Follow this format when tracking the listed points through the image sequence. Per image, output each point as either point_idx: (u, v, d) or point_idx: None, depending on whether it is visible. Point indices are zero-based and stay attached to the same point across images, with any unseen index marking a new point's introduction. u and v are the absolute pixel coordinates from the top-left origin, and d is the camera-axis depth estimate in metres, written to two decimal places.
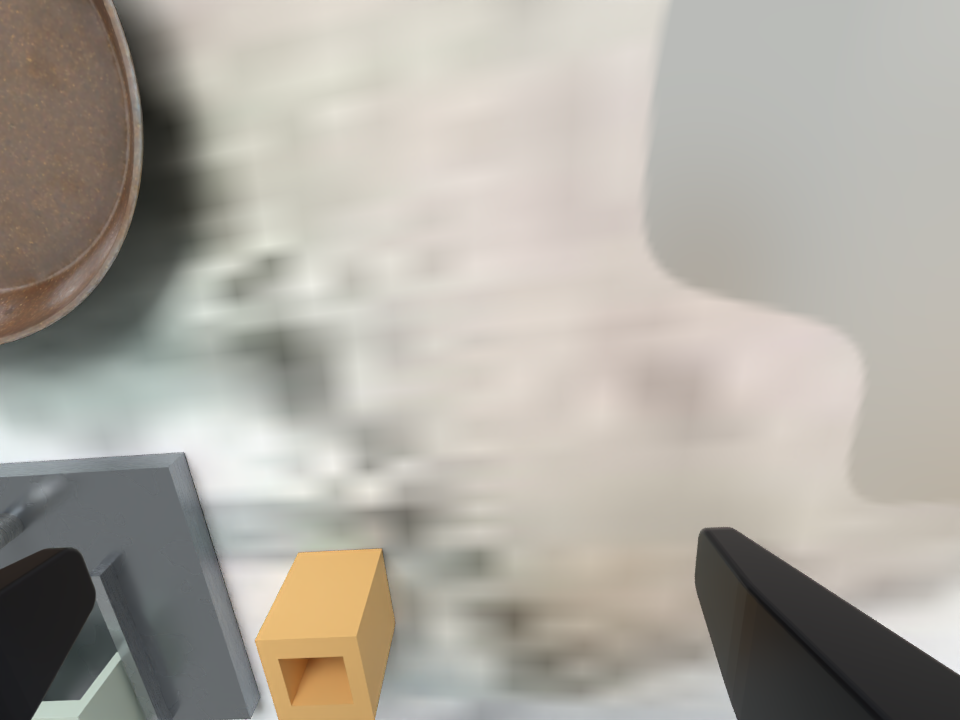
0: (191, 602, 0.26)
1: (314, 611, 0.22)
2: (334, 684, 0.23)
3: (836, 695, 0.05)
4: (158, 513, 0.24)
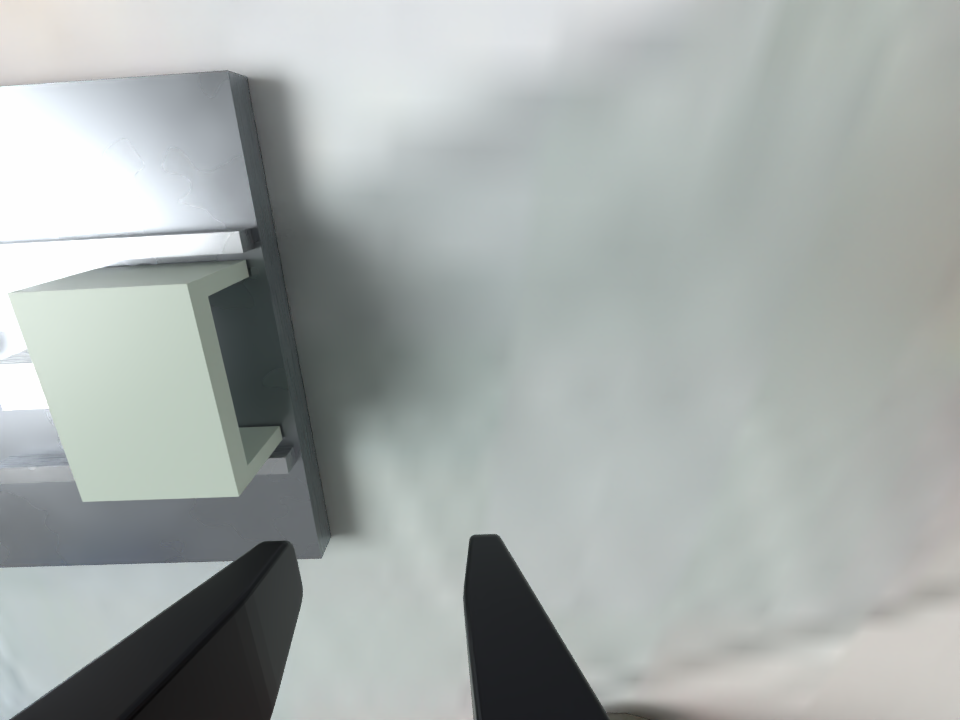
0: None
1: None
2: None
3: (473, 701, 0.05)
4: None
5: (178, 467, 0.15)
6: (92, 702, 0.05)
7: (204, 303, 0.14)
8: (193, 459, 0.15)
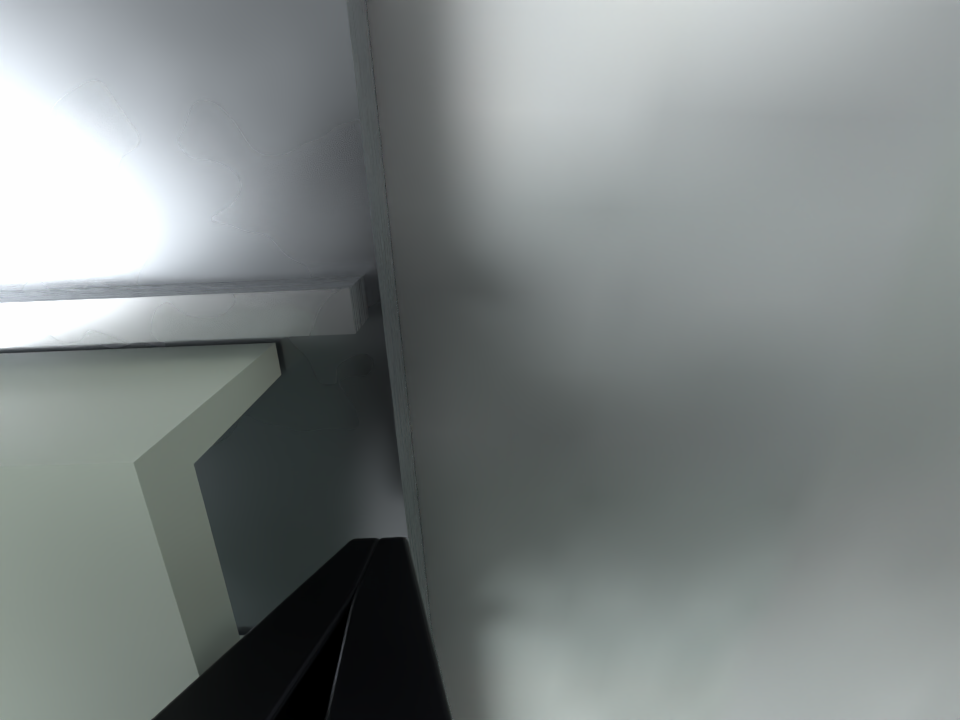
0: None
1: None
2: None
3: None
4: None
5: None
6: (234, 700, 0.05)
7: (184, 488, 0.06)
8: None
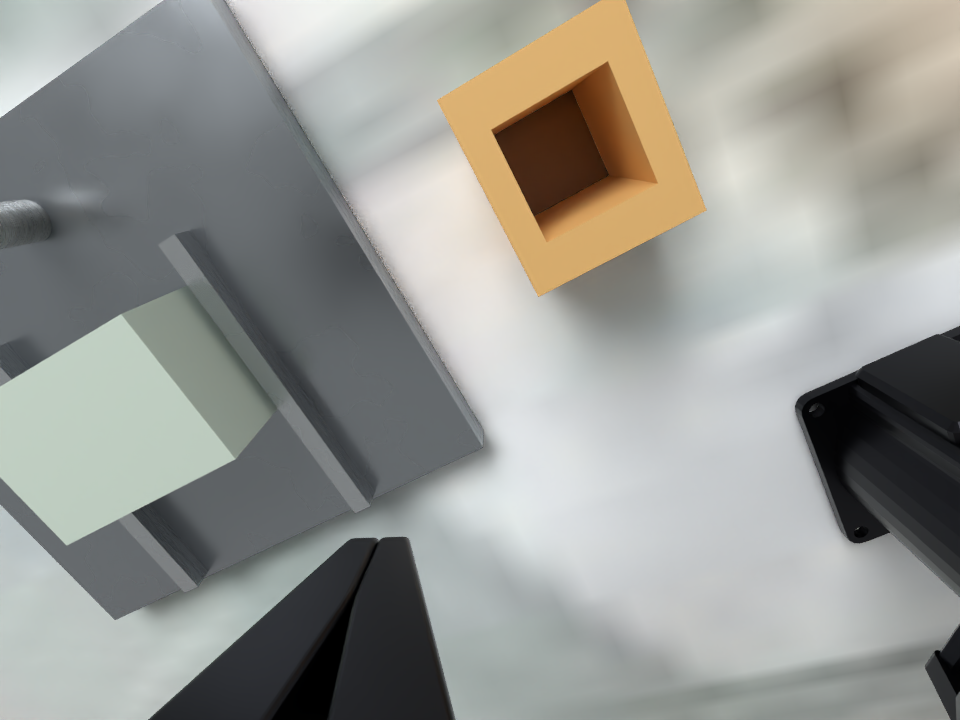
0: (326, 254, 0.16)
1: None
2: (603, 204, 0.13)
3: None
4: (217, 89, 0.14)
5: (55, 492, 0.15)
6: (231, 700, 0.05)
7: None
8: (74, 502, 0.15)
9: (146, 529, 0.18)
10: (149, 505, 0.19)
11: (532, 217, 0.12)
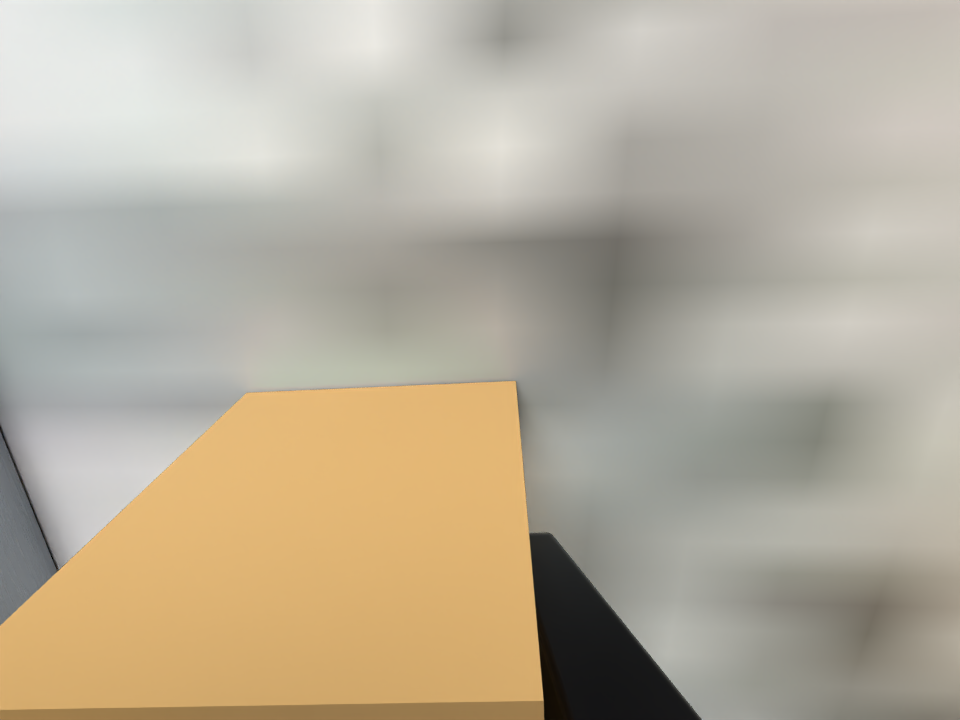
0: None
1: (284, 556, 0.05)
2: None
3: (554, 700, 0.05)
4: None
5: None
6: None
7: None
8: None
9: None
10: None
11: None
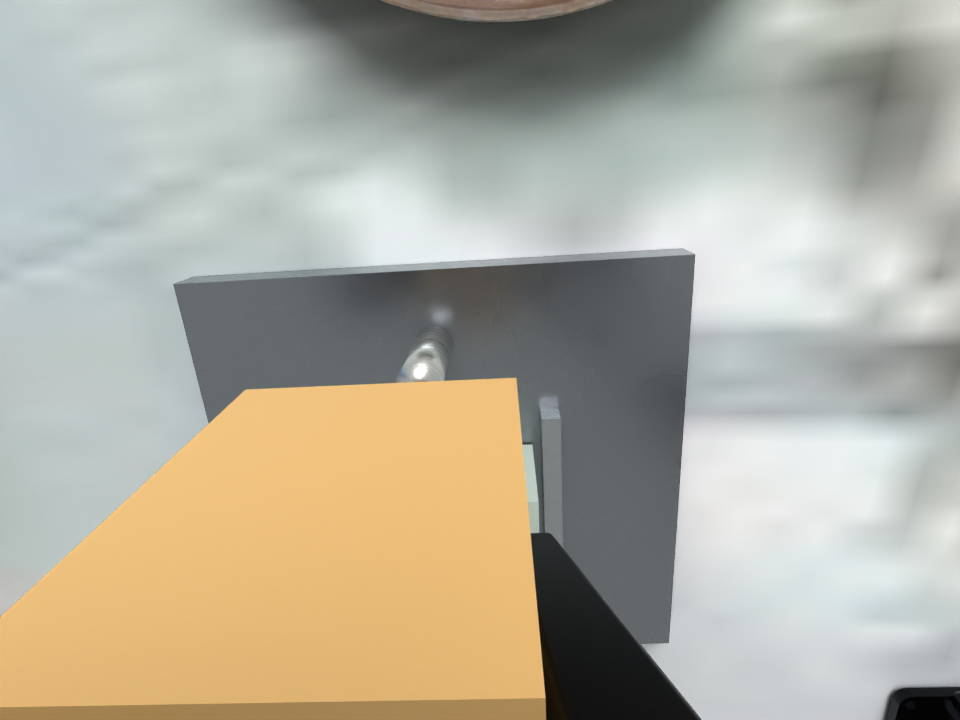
0: (650, 469, 0.19)
1: (283, 552, 0.05)
2: None
3: (553, 699, 0.05)
4: (653, 329, 0.17)
5: None
6: None
7: None
8: None
9: None
10: None
11: None
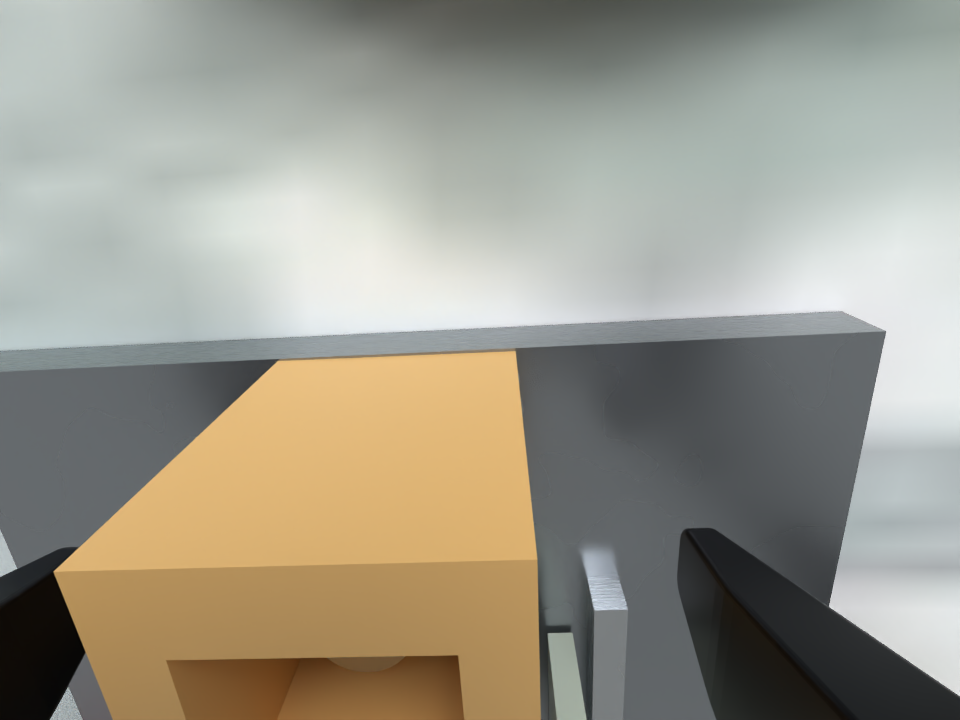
0: None
1: (327, 474, 0.06)
2: None
3: (806, 695, 0.05)
4: (795, 457, 0.10)
5: None
6: None
7: None
8: None
9: None
10: None
11: None
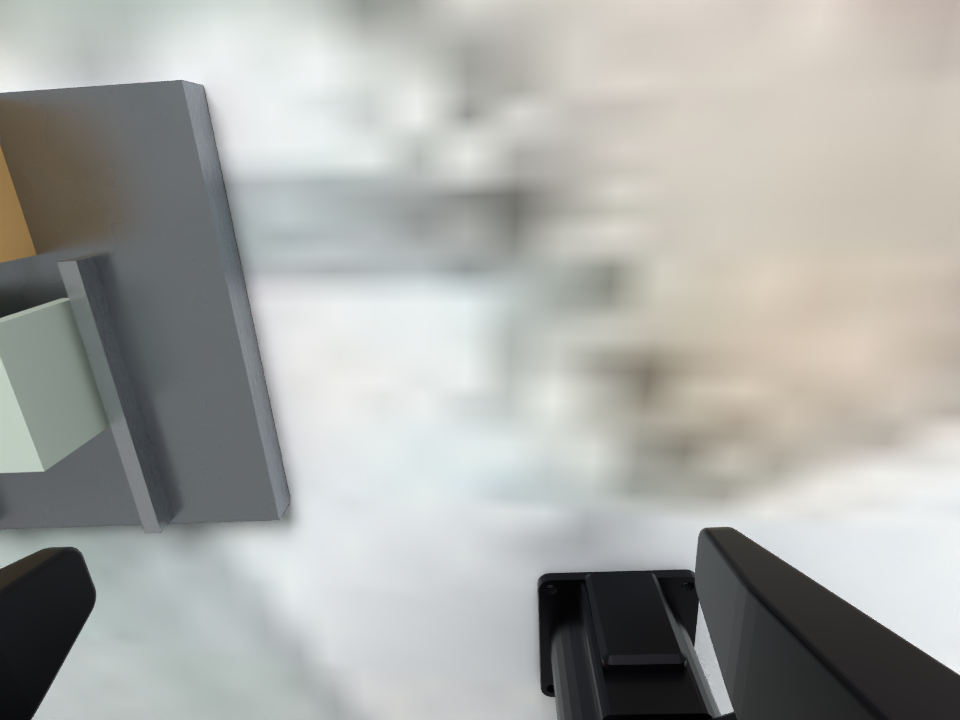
0: (206, 325, 0.18)
1: None
2: None
3: (836, 695, 0.05)
4: (164, 166, 0.16)
5: None
6: None
7: None
8: None
9: None
10: None
11: None
